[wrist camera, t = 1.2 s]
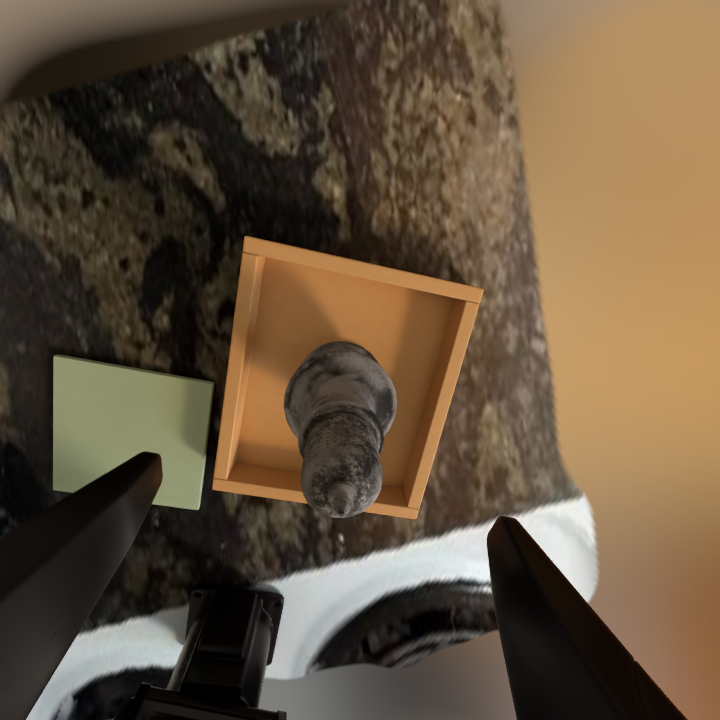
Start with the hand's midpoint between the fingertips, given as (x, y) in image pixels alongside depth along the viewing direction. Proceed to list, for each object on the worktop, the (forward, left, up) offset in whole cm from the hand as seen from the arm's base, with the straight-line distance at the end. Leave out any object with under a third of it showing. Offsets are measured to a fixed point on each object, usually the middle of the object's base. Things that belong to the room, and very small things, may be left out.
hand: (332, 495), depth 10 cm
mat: (-7, +11, -13) cm, 19 cm away
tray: (-1, -1, -13) cm, 13 cm away
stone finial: (-1, -1, -13) cm, 13 cm away
